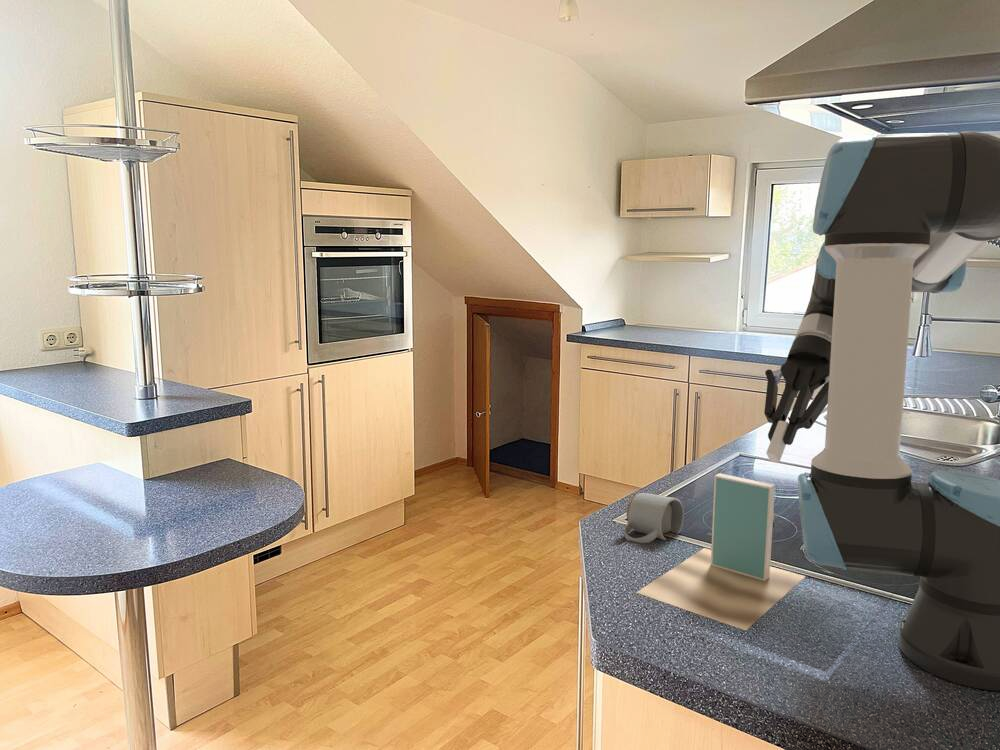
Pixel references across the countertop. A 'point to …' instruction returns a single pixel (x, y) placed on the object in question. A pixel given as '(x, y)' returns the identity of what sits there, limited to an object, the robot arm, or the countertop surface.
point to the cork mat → (720, 590)
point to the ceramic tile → (742, 525)
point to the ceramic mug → (653, 516)
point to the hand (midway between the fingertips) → (772, 457)
